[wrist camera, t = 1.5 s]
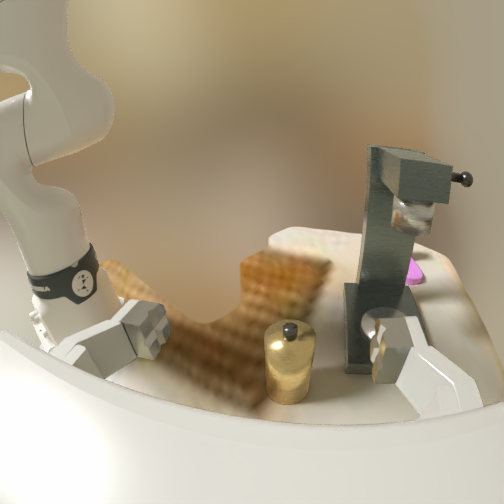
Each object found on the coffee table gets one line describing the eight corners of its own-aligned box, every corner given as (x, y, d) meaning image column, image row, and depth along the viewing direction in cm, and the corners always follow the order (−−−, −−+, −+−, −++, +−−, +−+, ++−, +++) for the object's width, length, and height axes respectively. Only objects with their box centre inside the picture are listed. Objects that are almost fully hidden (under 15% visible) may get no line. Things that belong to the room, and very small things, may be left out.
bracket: (382, 254, 57) (387, 225, 54) (404, 254, 56) (408, 226, 53) (400, 285, 46) (408, 252, 43) (424, 284, 45) (433, 253, 42)
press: (472, 368, 26) (539, 192, 14) (345, 373, 30) (379, 161, 19) (441, 295, 41) (469, 159, 30) (343, 292, 46) (353, 143, 34)
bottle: (259, 397, 28) (255, 338, 24) (275, 368, 32) (274, 306, 28) (301, 409, 26) (309, 351, 22) (313, 377, 30) (321, 315, 26)
